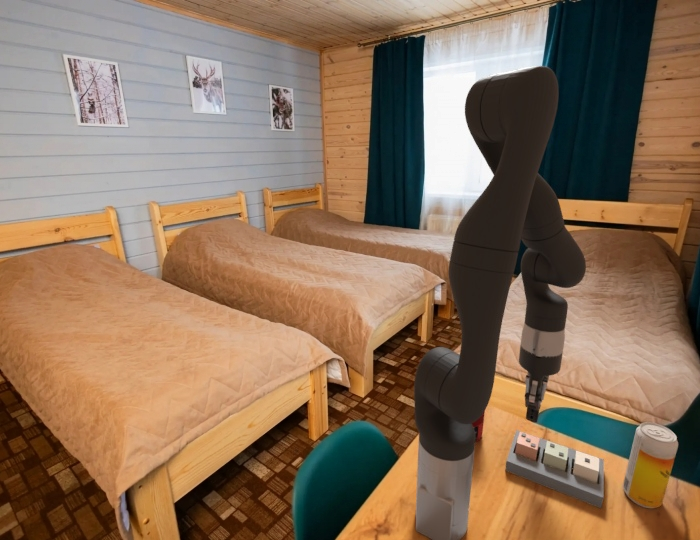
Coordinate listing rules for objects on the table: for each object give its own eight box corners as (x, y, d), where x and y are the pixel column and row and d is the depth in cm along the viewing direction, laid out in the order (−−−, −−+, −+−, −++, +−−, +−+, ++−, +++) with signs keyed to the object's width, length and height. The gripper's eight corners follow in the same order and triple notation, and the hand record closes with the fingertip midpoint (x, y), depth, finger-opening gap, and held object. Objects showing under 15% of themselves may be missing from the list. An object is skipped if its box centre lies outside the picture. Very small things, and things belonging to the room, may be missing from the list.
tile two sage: (564, 471, 77) (567, 459, 76) (542, 463, 79) (544, 451, 78) (566, 458, 80) (568, 447, 79) (545, 451, 82) (547, 439, 81)
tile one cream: (596, 483, 74) (599, 470, 73) (572, 474, 76) (575, 462, 75) (596, 469, 77) (599, 457, 76) (574, 461, 79) (576, 449, 78)
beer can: (668, 513, 70) (687, 445, 65) (631, 508, 71) (647, 441, 67) (650, 486, 75) (667, 422, 71) (616, 481, 77) (630, 418, 72)
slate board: (601, 508, 71) (603, 497, 70) (505, 470, 80) (506, 460, 79) (601, 469, 80) (603, 459, 79) (515, 438, 89) (516, 429, 88)
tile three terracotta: (535, 460, 79) (537, 449, 78) (515, 453, 81) (516, 441, 81) (538, 448, 83) (539, 437, 82) (518, 442, 85) (520, 430, 84)
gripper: (526, 328, 82) (518, 397, 87) (514, 355, 72) (506, 431, 77) (566, 336, 78) (555, 407, 83) (559, 365, 68) (547, 445, 73)
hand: (531, 419), depth 80 cm, fingers closed
